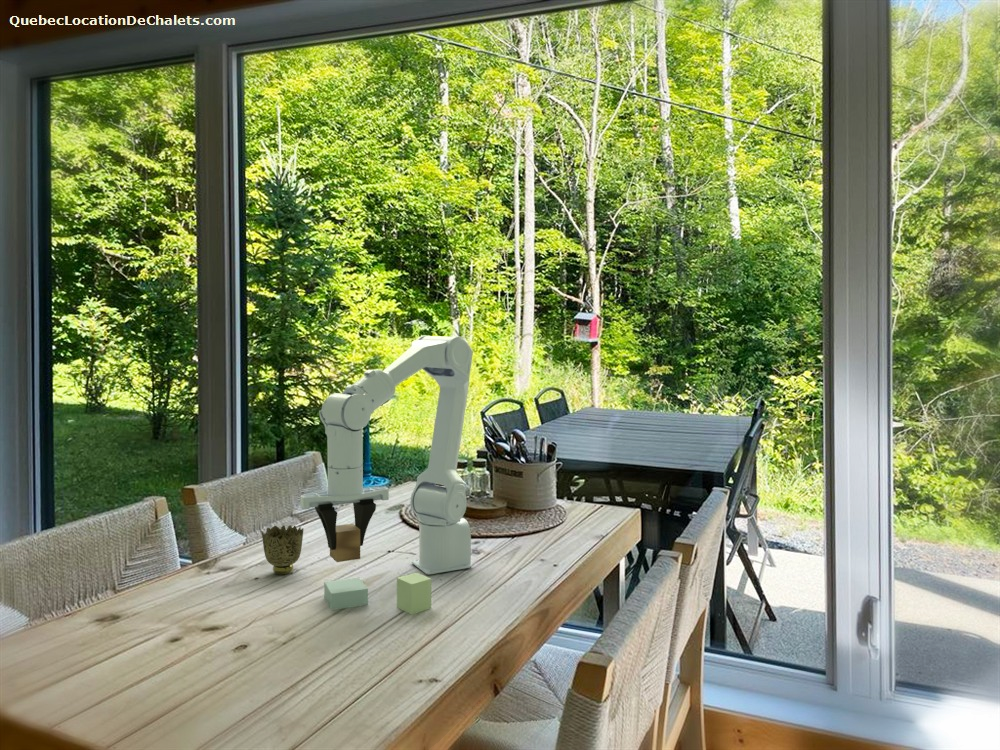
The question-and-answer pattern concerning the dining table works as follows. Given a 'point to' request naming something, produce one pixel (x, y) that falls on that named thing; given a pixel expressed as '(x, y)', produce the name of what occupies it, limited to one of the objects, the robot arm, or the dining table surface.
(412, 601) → the sage block
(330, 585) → the mint green base block
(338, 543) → the walnut block
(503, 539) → the dining table surface
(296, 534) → the cup
